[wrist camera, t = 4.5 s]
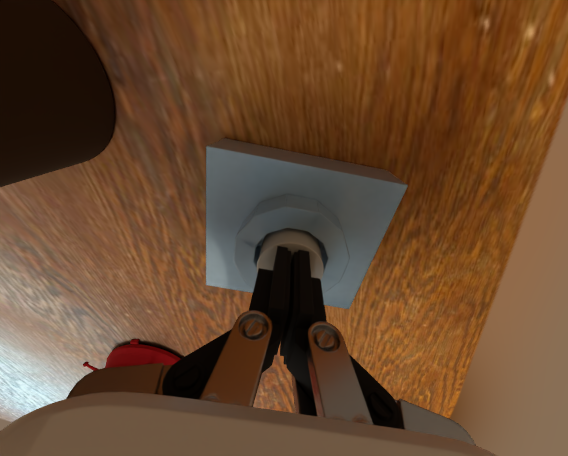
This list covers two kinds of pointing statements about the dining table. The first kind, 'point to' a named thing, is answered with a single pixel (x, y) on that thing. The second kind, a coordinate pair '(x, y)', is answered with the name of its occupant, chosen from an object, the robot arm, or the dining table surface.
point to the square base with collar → (294, 213)
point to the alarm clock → (137, 356)
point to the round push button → (291, 249)
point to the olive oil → (48, 92)
